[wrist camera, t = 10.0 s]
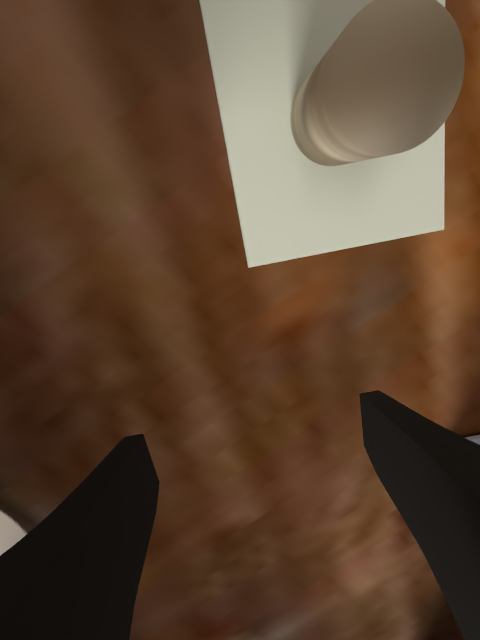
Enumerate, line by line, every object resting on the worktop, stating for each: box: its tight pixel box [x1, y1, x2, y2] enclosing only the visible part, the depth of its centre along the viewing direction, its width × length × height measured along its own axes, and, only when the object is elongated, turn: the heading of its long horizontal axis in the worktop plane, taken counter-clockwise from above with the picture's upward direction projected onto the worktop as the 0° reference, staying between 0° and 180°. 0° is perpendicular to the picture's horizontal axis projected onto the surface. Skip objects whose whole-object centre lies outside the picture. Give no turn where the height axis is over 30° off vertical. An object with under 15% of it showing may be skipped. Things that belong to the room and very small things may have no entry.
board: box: [199, 0, 445, 267], centre depth 16 cm, size 12×10×1 cm
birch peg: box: [291, 0, 465, 166], centre depth 13 cm, size 4×4×6 cm
